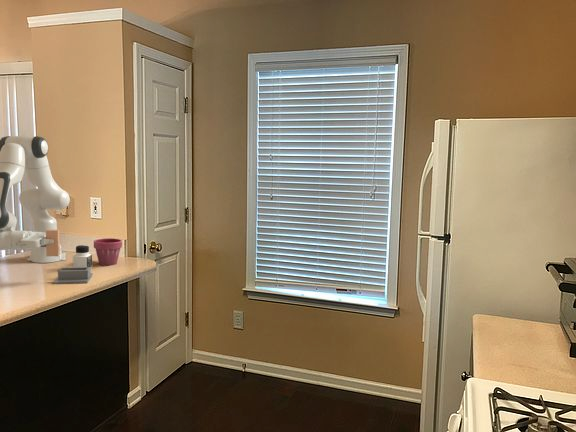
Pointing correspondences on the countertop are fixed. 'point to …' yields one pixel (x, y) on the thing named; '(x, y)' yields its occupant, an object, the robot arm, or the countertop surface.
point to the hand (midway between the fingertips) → (55, 240)
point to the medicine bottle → (82, 257)
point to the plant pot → (107, 250)
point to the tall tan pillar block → (53, 248)
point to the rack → (73, 275)
